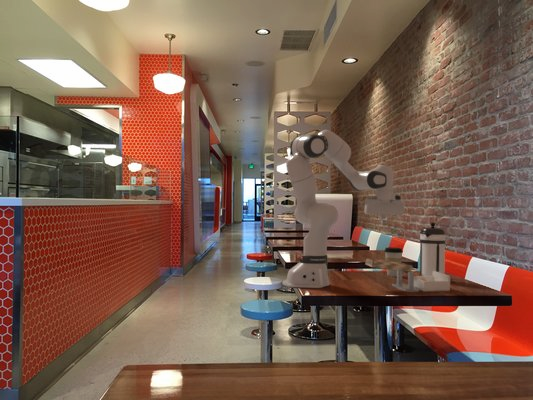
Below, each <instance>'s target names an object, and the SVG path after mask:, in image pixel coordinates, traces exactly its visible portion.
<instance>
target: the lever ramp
mask: <svg viewBox="0 0 533 400" xmlns="http://www.w3.org/2000/svg"><path fill="white" fill-rule="evenodd" d="M365 265H366V266H369V267H371V268H377V269H384V270H385V269H386V270H387V269H391V270H400V271H402V273H403V272H404V273H406V274H408V272H416V270H417V268H414V267H413V265H411V264H408V263H407V264H406V263H404V262H401V263H398V262H390V261H386V260H380V259H372V258H366V259H365Z"/></svg>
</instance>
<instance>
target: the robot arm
mask: <svg viewBox="0 0 533 400" xmlns="http://www.w3.org/2000/svg"><path fill="white" fill-rule="evenodd" d="M289 151H290V153H289V156H290V157H289V158H288V159H287V160H286V170H287V171H286V172H287V175H288V178H289V180H290V183H291V184H290V185H291V186H292V189H293V191H294V192H293V193H294V194H295V198H296V207H295V209H294V218H295V220H296V222H298V223H300V224H302V225H304V226H309V227H310V228H309V231H308V233H307V234H306V235H305V236H304V237H303V254H297V256H296V258H297V259H298V260H299V262H297V264H295V265H294V266H292V267H291V268H290V269H289V270H288V272H287V276H286V279H283V280H282V282H281V284H282V285H283V286H285V287H288V288H303V289H304V288H305V289H307V288H309V289H310V288H311V289H322V288H324V287H328V286H330V280H329V275H328V260H329V257H328V253H327V250H328V249H327V248H328V247H327V246H328V237H329V233H330V231H331V229H332V227H333V226H334V225H335V224H336V222H337V221H338V218H339V211H338V209H337V207H335V206H334V205H332V204H329V203H325V202H317V199H316V194H317V192H318V191H319V187H318V184H317V181H316V179H315V176H314V173H313V170H312V168H311V165H310V164H311V159H315V158H316V159H317V158H319V157H321V156H322V155H323V154H324V156H325V157H326V158H327V159H328V160H329V161H331V163H332V164H333V166H335V168H336V169H337V170H338V171H339V172H340V173H341V174H342V175H343V176H344V177H345V178H346V180H347V181H348V182H349V184H350V186H351V188H352V189H353V190H354V191H356V192H362V191H370V190H375V196H370V195H369V196H367V197H365V198H364V210H363V211H364V214H365V215H378V218H379V220H380V224H388V221H389V219H390V216H393V215H395V216H398V215H399V216H403V215H404V214H405V204H404V201H403V199H404V198H403V196H402V195H399V194H397V193H394V187H393V185H394V170H393V167H392V166H391V165H389V164H378V165H377V166H376V167H375V168H372V169H369V170H365V171H359V170H357V169H355V168H354V167H353V166H352V165H351V164H350V162H349V160H350V158H351V155H352V149H351V147H350V146H349V144H348V143H347V142H346V141H344V140H343V139H342V138H341V137H340V136H339V135H338V134H336V133H334V132H333V131H331V130H328V129H323V130H321V131H320V132H318V134H309V133H308V134H302V135H298V136H295V137H294V138H293V139H292V140H291V141H290V145H289ZM383 215H385V218H384V219H383Z"/></svg>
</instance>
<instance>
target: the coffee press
mask: <svg viewBox="0 0 533 400" xmlns="http://www.w3.org/2000/svg"><path fill="white" fill-rule="evenodd" d="M429 225H430V226H427V227H426V226H425V227H422V228H421V230H420V231H419V235H420V237H419V245H420V246H419V247H420V249H419V275H418V276H433V271H436V272H440V273H443V274H446V272H445V271H446V269H445V268H446V265H445V264H446V242H447V241H446V235H447V233H446V231H445V229H444V228H442V227H435V226H436V223H435V222H430V224H429Z"/></svg>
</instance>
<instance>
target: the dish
mask: <svg viewBox="0 0 533 400" xmlns="http://www.w3.org/2000/svg"><path fill="white" fill-rule="evenodd" d="M421 278H423V279H425V280H426V281H423V280H420V279H421ZM414 288H416V289H419V291H421V292H451V275H449V274H446V273H445V274H443V273H440V272H436V271H433V276H419V275H414Z"/></svg>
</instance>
